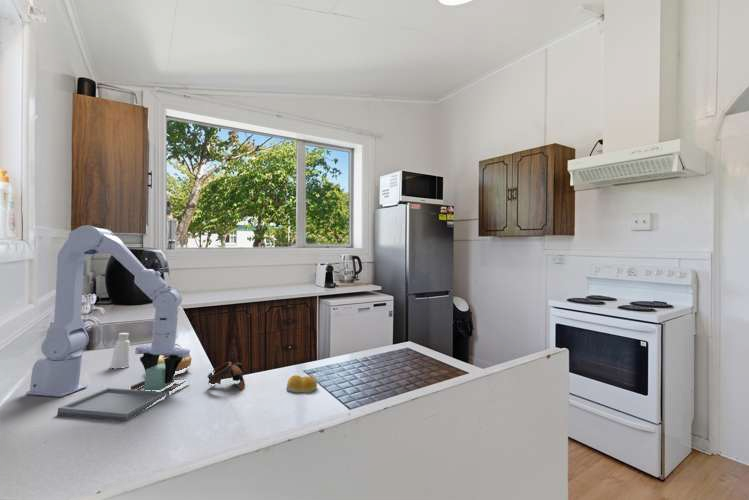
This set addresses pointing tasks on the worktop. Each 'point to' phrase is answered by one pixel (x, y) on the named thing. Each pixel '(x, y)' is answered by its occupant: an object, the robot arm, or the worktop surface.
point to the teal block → (156, 378)
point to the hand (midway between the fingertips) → (159, 381)
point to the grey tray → (111, 404)
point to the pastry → (183, 364)
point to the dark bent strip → (144, 383)
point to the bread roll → (301, 384)
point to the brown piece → (228, 373)
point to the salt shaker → (121, 352)
